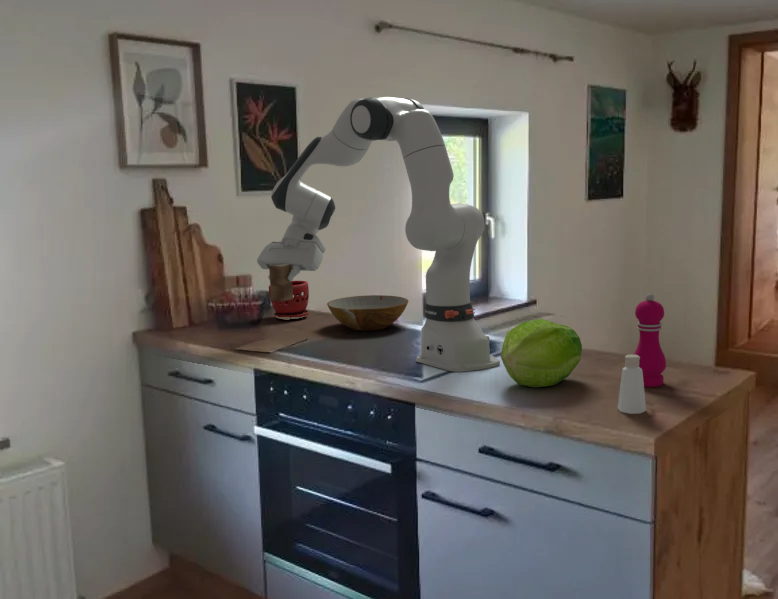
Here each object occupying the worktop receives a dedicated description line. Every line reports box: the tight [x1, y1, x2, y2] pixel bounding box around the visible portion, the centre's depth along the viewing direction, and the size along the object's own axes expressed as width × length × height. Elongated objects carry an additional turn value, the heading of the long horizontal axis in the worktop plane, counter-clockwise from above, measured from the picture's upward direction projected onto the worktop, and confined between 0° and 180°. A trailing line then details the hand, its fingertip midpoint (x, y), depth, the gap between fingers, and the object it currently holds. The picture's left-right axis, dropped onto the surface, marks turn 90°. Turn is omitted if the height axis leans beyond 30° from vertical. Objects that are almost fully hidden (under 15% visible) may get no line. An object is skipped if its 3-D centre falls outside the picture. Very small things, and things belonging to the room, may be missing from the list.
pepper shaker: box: [617, 354, 647, 415], centre depth 159 cm, size 5×5×11 cm
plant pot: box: [268, 280, 310, 318], centre depth 269 cm, size 13×13×12 cm
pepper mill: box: [633, 293, 667, 388], centre depth 177 cm, size 7×7×20 cm
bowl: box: [326, 294, 409, 332], centre depth 250 cm, size 25×25×8 cm
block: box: [268, 263, 294, 302], centre depth 234 cm, size 4×4×10 cm
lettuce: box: [500, 318, 583, 388], centre depth 180 cm, size 15×23×16 cm
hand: (279, 279), depth 233 cm, fingers closed on block, 4 cm apart
